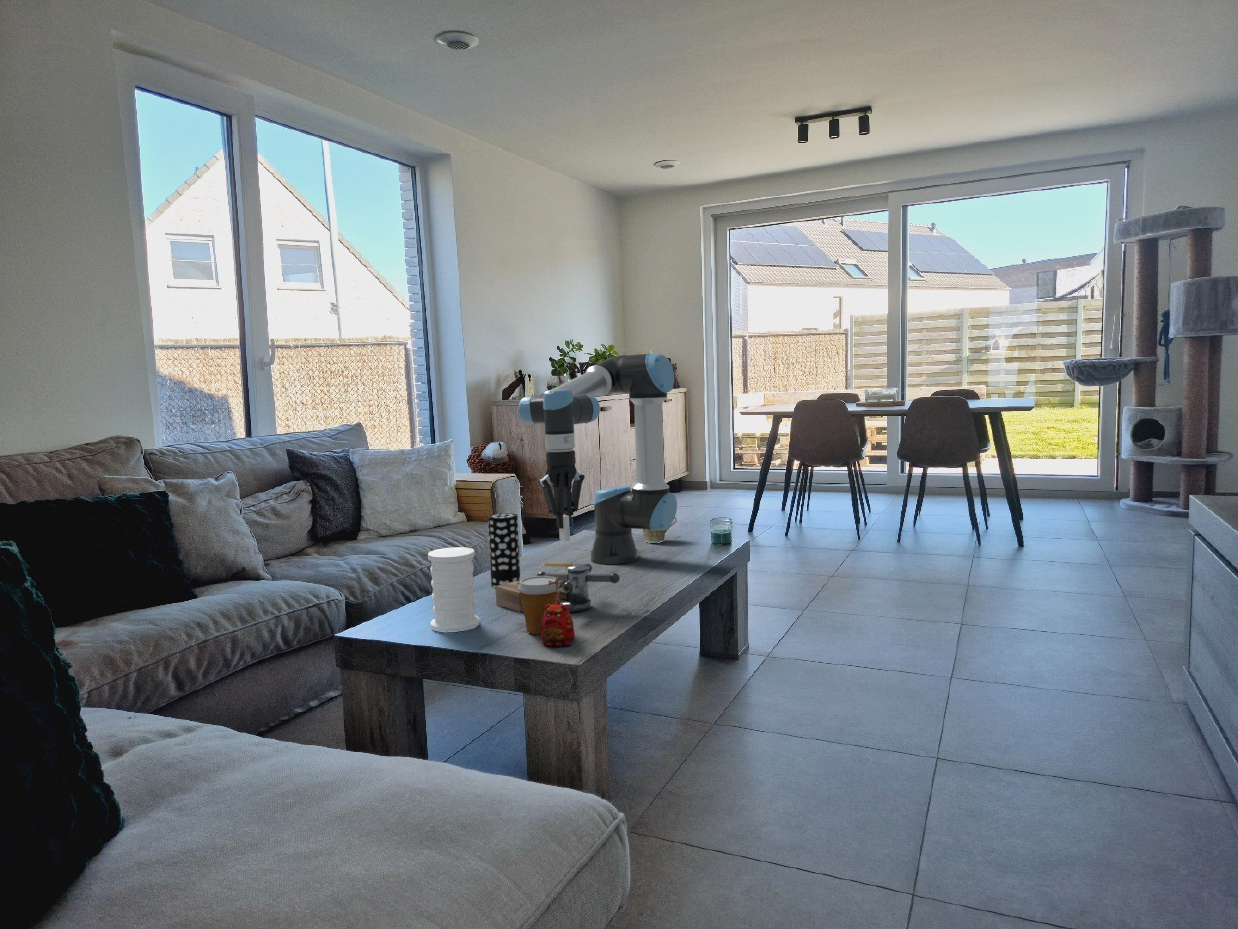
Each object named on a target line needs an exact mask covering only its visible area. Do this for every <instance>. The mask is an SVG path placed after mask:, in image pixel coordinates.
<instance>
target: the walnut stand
mask: <svg viewBox="0 0 1238 929" xmlns="http://www.w3.org/2000/svg"><path fill="white" fill-rule="evenodd" d="M520 580H521V579H520ZM520 580H519V581H515V582H511V583H506V584H502V585H498V586H496V588H495V603H496V606H498V605H499V607H502V608H505V607H507V608H506V609H508V608H510V609H509V610H511V609H514V610H516V611H515V612H518V611H519V613H521V612H520V611H522V612H524V611H523V605H522V599H521V593H520V591H519V589H518V586H519V584H520ZM565 582H567V581H558V583H559V587H558V591H559V595H558V597H559V599H562V598H565V599H568V598H569V593H567V592H565V591H564V590H563V584H564V583H565ZM514 610H513V611H514Z"/></svg>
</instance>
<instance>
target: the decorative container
mask: <svg viewBox="0 0 1238 929" xmlns="http://www.w3.org/2000/svg"><path fill="white" fill-rule="evenodd" d="M475 554H476V553H475V549H473V548H470V547H466V546H465V547H464V546H463V547H461V546H459V547H458V546H457V547H456V546H455V547H445V548H437V549H434V550H431V551H429V552H428V553H427V560H428V561H429V562H430V563H431V566H430V574H431V582H430V585H431V588H432V593H431V594H432V595H431V599H432V601H433V606H432V613H433V615H434V618H433V619H432V620H431V621H430V629H431V628H432V629H434V630H438V631H445V632H448V631H452V632H453V631H460V630H466V629H469V628H472V627H474V626H478V624H479V623H480V617H479V616H478V615H476V614H475V611H476V608H477V605H476V603H475V598H476V597H475V596H476V591H475V589H474V585H475V578H474V573H473V572H474V569H475V567H474V563H473V559H474V557H475ZM479 625H480V624H479ZM478 627H479V626H478Z"/></svg>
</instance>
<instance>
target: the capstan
mask: <svg viewBox="0 0 1238 929" xmlns="http://www.w3.org/2000/svg"><path fill="white" fill-rule="evenodd" d="M544 567H564V568H565V570H566V571H567V573H566V572H565V573H564V572H563V573H562V572H545V571H539V572H538V573H537V574H536V576H551V577H555V578H557V574H558V579H559V581H567V582H565V583H564V584H563V590H564V591H565V592H567V593H569V598H568V599H565V598H562V599H559V602H560V604H561V605H566V606H567V609H568V611H569V613H576V612H577V613H578V612H583V611H584V612H585V611H587V610H589V609H590V608H592V600H591V599H590V597H589V583H590V582H591V583H593V582H594V583H595V582H597V583H611V584H613V585H614V584H617V583H619V582H620V580H621V576H620V575H619V574H618V573H617V572H612V573H611V574H609V573H591V572H592V571H593V567H592V565H591V564H590V563H581V562H580V563H573V562H553V561H552V562H551V561H550V562H548V561H547V562H545V563H544Z"/></svg>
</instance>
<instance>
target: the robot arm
mask: <svg viewBox="0 0 1238 929" xmlns="http://www.w3.org/2000/svg"><path fill="white" fill-rule="evenodd" d="M673 369H674V368H673V365H672V363H671V362H670V360H669V359H668V357H666V355H664V354H661V353H651V352H650V353H642V354H628V355H627V354H622V355H616V356H613V357H610V358H607V359H605V360H603V361H599V362H598V363H596V364H594V365H592V366H590V367H588V368H587V369H586V371H585V373H583V374H580V375H579V376H577V377H574V378H573V379H570V380H568V381H566V382H565V383H562V384H560V385H558V386H556V387H553V388H552V389H549V390H545V391H544V392H543V393H541V394H539V395H530V396H524V397H522V398H521V400H520V401H519V404H518V409H517V411H518V416H519V418H520V420H521V421H522V422H523V423H525V424H533V425H537V424H538V425H539V424H541V425H542V424H543V425H544V439H545V441H544V443H545V444H544V445H545V446H544V447H545V449H546V450H547V451H546V452H545V460H546V461H545V464H546V466H547V467H546V468H547V469H546V472H545V475H544V477H542V478H539V479H538V484H539V485H540V487H541V488H542V491H543V492H542V493H543V496H544V499H545V503H546V504H545V505H546V507H547V511H548V513H549V514H550V515H553V516H555V519H556V520H555V523H556V528H557V529H558V532H559V533H558V534H559V540H560V541H561V542H570V541H571V535H570V534H571V533H570V532H571V530H570V528H572V525H573V523H572V516H574V514H575V513H576V512H578V511H579V504H580V498H581V492H582V485H583V483H584V480H585V477H586V475H585V474H582V473H579V472H578V471H577V468H576V451H575V450H574V448H576V447H575V445H576V444H575V442H576V441H575V428H574V427H575V425H581V424H589V423H591V422H592V423H593V422H594V421H595V420H597V419H598V417H599V415H600V413H601V405H600V402H599V401H598V399H597V398H596V397H603V396H605V395H607V394H608V395H609V394H619V393H620V394H628V396H629V397H628V399H629V400H630V402H632V403H633V405H634V409H633V410H634V437H635V438H634V444H635V446H634V447H635V471H636V472H635V473H636V474H635V476H636V477H635V478H636V481H635V483H634V484H633V485H632V487H631V486H628V485H623V486H622V485H621V486H614V487H607V488H602V489H599V490H597V491H595V493H594V496H593V497H594V498H593V501H594V502H593V507H594V530H595V533H594V534H595V535H594V536H595V538H594V541H593V545H592V550H591V551H590V561H591V562H594V563H597V564H603V565H618V564H619V565H621V564H628V563H633V562H636V560H637V561H638V559H639V556H638V554H639V552H638V549H637V548H636V544H635V541H634V538H633V532H632V529H634V530H635V529H637V530H643V529H646V530H652V531H655V530H666V529H668V528H669V527H670V526H671V525H672V524H673V523H674V522H675V521H674V520H675V517H676V516H677V510H678V501H677V497H676V495H675V494H673V493H672V492H670V485H669V484H668V483H666V481H665V467H664V466H665V461H664V460H665V459H664V458H665V457H664V423H663V422H664V419H663V416H664V415H663V413H664V412H663V404H664V402H665V401H666V400H667V399H668V393H669V392H671V391H673V388H674V384H675V373H674V370H673ZM551 484H552V485H551ZM671 527H672V526H671ZM671 527H670V528H671ZM670 528H669V529H670ZM669 529H668V530H669Z"/></svg>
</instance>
